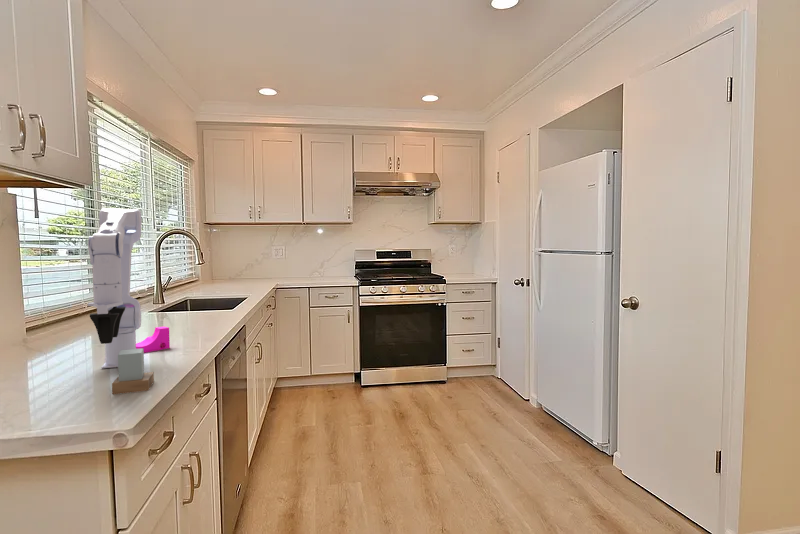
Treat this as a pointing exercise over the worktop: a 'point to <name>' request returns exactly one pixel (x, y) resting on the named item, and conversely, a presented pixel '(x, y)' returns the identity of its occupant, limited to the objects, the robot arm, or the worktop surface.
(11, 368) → the worktop surface
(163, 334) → the toy block
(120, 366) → the slate block
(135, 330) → the robot arm
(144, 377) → the walnut plinth
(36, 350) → the worktop surface
